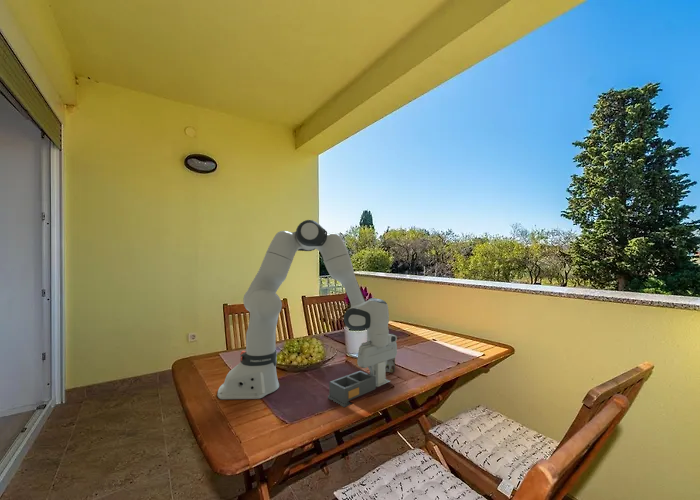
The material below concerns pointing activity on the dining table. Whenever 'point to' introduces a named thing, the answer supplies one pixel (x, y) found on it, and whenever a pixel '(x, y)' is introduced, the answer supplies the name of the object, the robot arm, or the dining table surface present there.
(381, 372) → the peg
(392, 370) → the coffee box
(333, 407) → the dining table surface
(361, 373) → the slot rack
